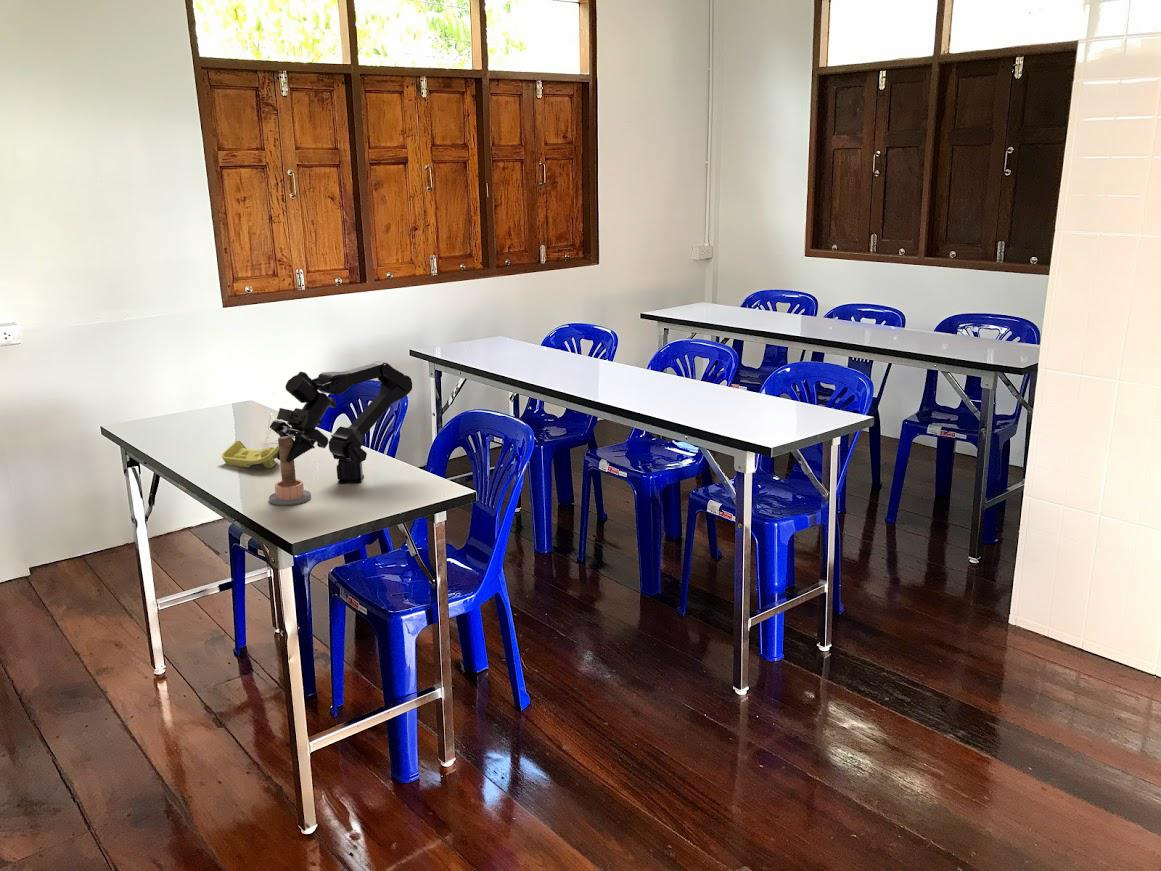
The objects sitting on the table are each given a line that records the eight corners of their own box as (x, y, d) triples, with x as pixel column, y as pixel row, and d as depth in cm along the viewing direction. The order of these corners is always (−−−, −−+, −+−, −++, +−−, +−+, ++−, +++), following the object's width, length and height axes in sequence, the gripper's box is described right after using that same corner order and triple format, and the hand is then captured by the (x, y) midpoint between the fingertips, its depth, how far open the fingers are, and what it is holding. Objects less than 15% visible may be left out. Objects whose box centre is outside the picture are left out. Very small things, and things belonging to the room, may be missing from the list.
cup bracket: (314, 492, 270) (313, 476, 269) (306, 505, 259) (305, 489, 258) (274, 493, 269) (273, 478, 268) (264, 506, 258) (263, 490, 257)
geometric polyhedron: (266, 447, 316) (264, 420, 313) (263, 439, 325) (261, 413, 323) (306, 443, 320) (304, 417, 318) (301, 435, 330) (299, 409, 328)
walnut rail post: (292, 479, 265) (288, 435, 262) (298, 482, 263) (294, 438, 259) (279, 482, 263) (275, 438, 260) (285, 485, 260) (281, 440, 257)
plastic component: (218, 457, 296) (240, 437, 302) (230, 475, 300) (251, 455, 307) (261, 462, 286) (283, 441, 292) (273, 481, 290) (294, 459, 296)
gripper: (272, 391, 265) (241, 439, 260) (315, 400, 254) (284, 450, 249) (298, 413, 273) (269, 460, 268) (341, 423, 263) (312, 472, 257)
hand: (282, 460), depth 260 cm, fingers closed on walnut rail post, 4 cm apart
